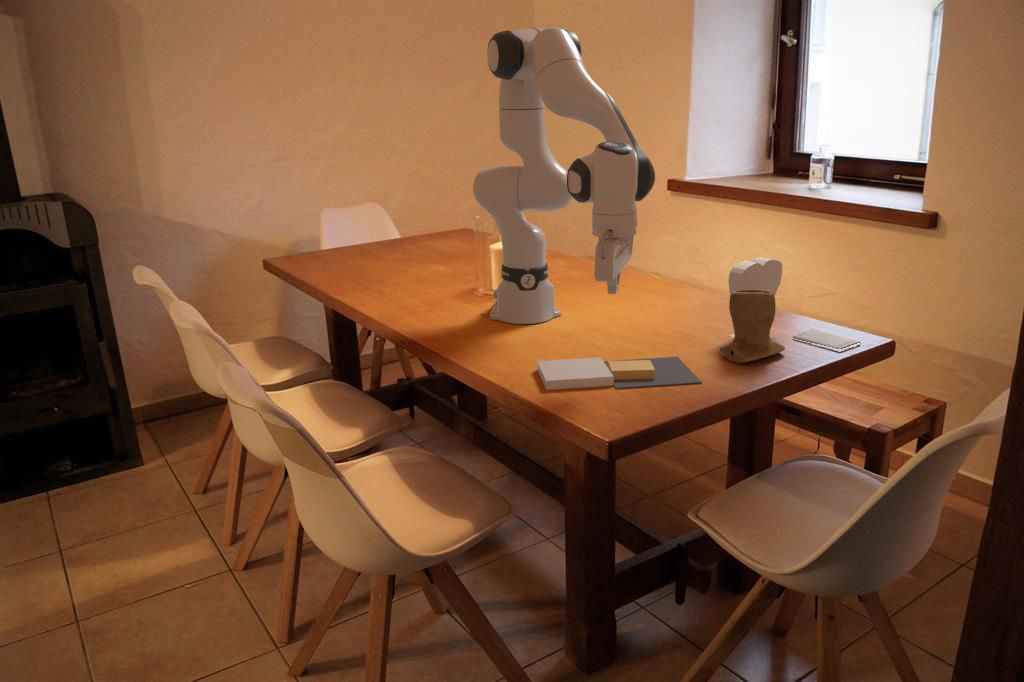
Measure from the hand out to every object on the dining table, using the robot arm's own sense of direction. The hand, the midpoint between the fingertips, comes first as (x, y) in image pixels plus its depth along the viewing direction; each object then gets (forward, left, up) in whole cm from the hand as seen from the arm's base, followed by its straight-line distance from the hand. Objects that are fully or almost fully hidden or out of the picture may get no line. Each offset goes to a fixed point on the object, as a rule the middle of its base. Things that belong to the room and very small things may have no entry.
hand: (613, 292), depth 172 cm
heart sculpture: (-22, +40, -18) cm, 49 cm away
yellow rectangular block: (+1, +4, -18) cm, 18 cm away
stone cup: (-7, +33, -18) cm, 38 cm away
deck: (0, -8, -18) cm, 20 cm away
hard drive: (-12, +54, -19) cm, 58 cm away
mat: (0, +8, -18) cm, 20 cm away
